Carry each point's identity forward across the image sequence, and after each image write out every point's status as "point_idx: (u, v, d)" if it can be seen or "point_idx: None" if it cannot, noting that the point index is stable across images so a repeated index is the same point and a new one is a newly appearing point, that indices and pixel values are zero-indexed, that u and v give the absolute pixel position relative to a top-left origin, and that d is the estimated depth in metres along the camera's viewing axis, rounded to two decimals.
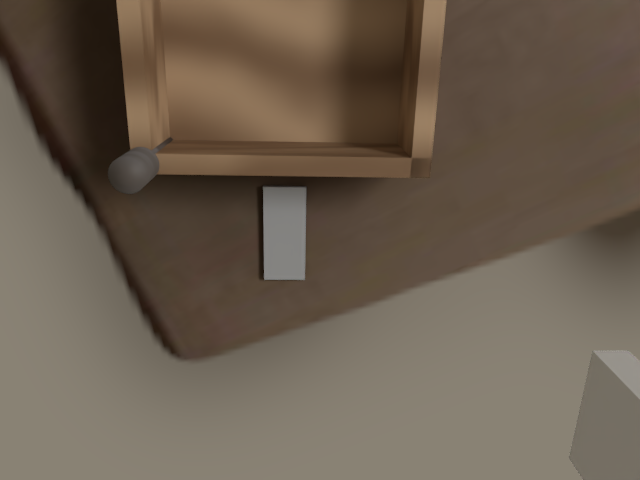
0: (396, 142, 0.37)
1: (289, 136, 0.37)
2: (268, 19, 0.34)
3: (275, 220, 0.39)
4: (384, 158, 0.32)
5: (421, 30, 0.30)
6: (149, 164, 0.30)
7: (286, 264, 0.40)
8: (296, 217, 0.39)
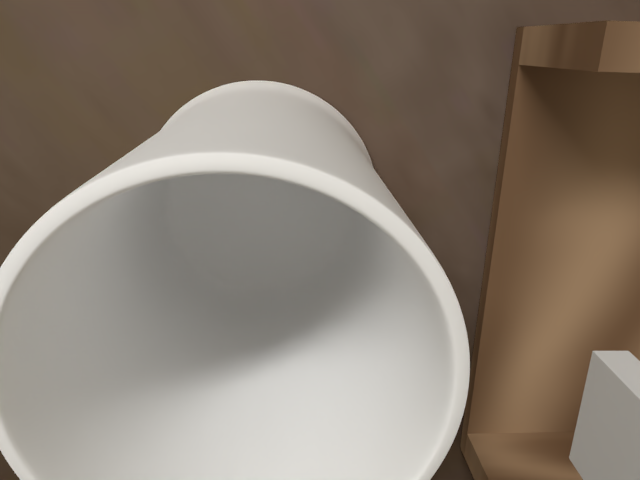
0: None
1: None
2: (590, 295, 0.22)
3: None
4: None
5: None
6: None
7: None
8: None
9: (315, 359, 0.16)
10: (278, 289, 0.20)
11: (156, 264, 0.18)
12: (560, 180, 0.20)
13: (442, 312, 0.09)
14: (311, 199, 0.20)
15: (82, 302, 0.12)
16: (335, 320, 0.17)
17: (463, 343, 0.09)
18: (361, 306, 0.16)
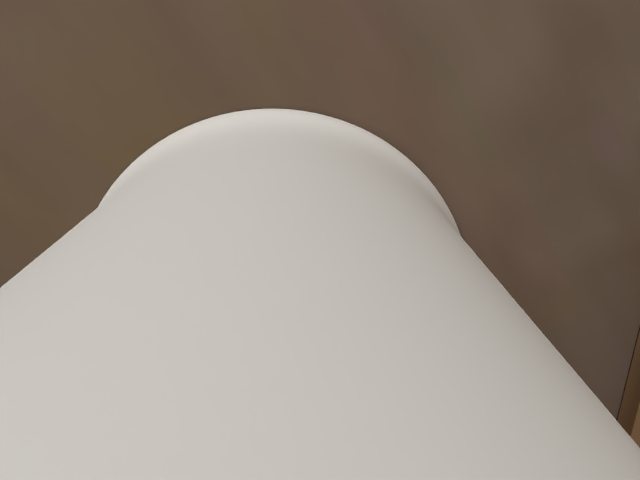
0: None
1: None
2: None
3: None
4: None
5: None
6: None
7: None
8: None
9: None
10: None
11: None
12: None
13: None
14: None
15: None
16: None
17: None
18: None
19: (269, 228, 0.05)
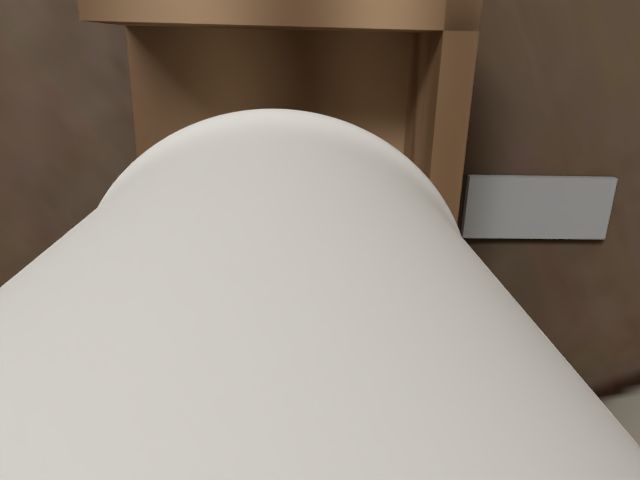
0: (411, 34, 0.23)
1: None
2: None
3: (514, 221, 0.26)
4: (440, 81, 0.19)
5: (229, 24, 0.18)
6: None
7: (586, 205, 0.26)
8: (514, 191, 0.26)
9: None
10: None
11: None
12: (184, 125, 0.24)
13: None
14: None
15: None
16: None
17: None
18: None
19: (269, 229, 0.05)
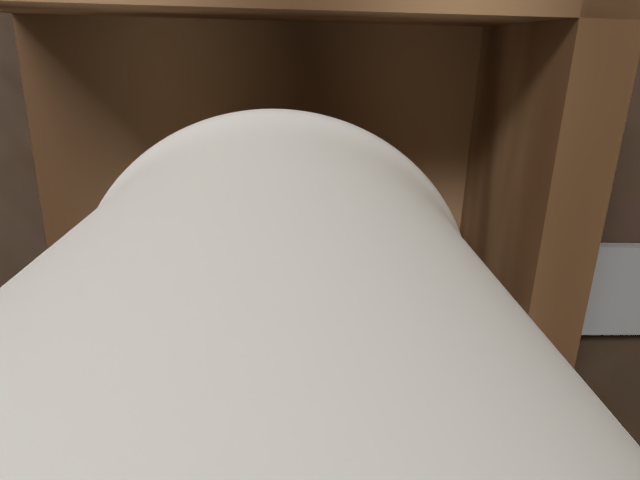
0: (480, 28, 0.14)
1: None
2: None
3: (623, 311, 0.17)
4: (566, 114, 0.10)
5: None
6: None
7: None
8: (626, 267, 0.17)
9: None
10: None
11: None
12: (116, 173, 0.15)
13: None
14: None
15: None
16: None
17: None
18: None
19: (269, 229, 0.05)
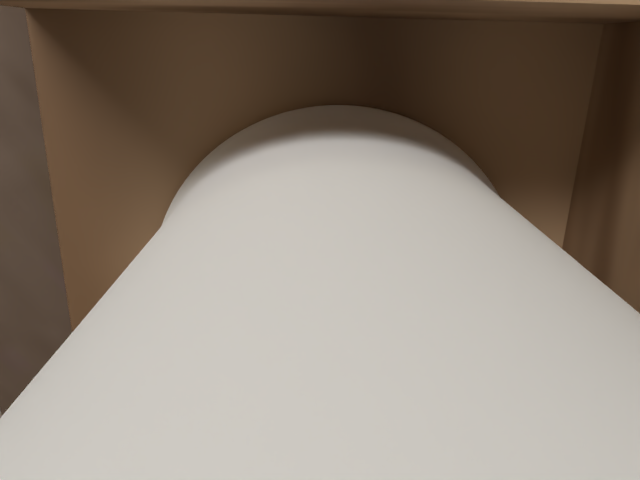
0: (600, 26, 0.11)
1: None
2: None
3: None
4: None
5: None
6: None
7: None
8: None
9: None
10: None
11: None
12: (148, 200, 0.12)
13: None
14: None
15: None
16: None
17: None
18: None
19: (392, 202, 0.05)
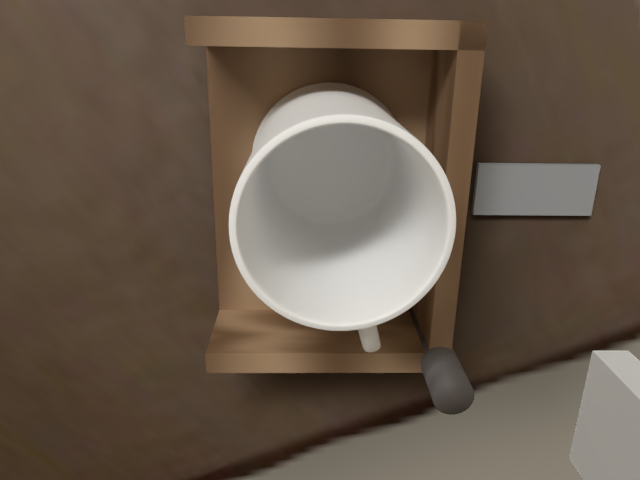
0: (431, 50, 0.29)
1: None
2: None
3: (516, 201, 0.32)
4: (455, 88, 0.24)
5: None
6: (442, 368, 0.27)
7: (575, 187, 0.32)
8: (515, 176, 0.31)
9: (369, 252, 0.26)
10: (339, 221, 0.31)
11: (267, 198, 0.28)
12: (249, 124, 0.30)
13: (442, 190, 0.19)
14: (363, 160, 0.30)
15: (250, 202, 0.22)
16: (380, 232, 0.27)
17: (452, 206, 0.19)
18: (397, 220, 0.26)
19: (342, 99, 0.23)
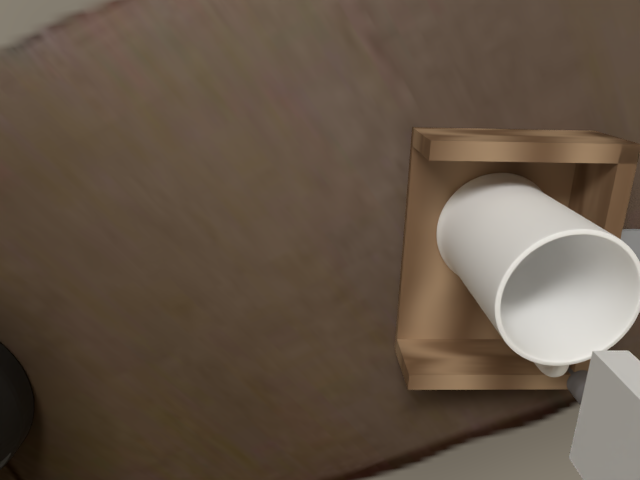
0: None
1: None
2: None
3: None
4: (613, 189, 0.34)
5: None
6: None
7: None
8: (630, 239, 0.41)
9: (544, 303, 0.36)
10: None
11: None
12: (437, 201, 0.39)
13: (638, 275, 0.29)
14: None
15: None
16: (547, 287, 0.37)
17: None
18: (564, 280, 0.36)
19: (544, 201, 0.32)
